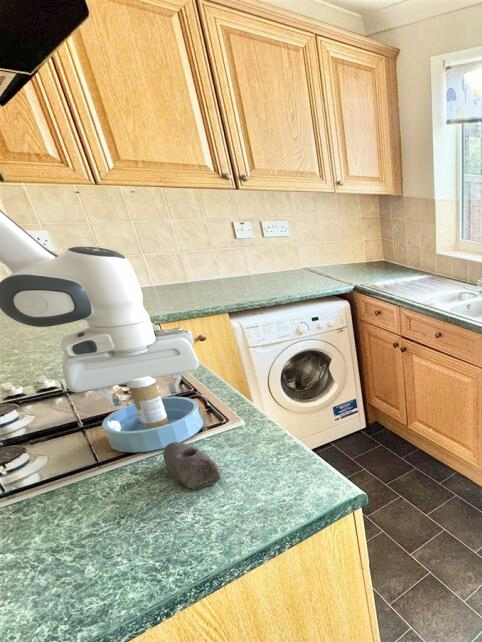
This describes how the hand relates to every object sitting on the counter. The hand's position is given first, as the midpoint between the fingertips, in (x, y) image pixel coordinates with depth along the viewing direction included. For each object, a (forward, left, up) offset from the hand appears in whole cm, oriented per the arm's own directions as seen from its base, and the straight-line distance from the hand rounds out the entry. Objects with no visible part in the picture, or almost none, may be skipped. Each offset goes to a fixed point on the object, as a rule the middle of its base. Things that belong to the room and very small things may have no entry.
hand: (146, 398), depth 86 cm
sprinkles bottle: (0, 0, -8) cm, 8 cm away
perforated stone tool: (+12, -17, -9) cm, 23 cm away
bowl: (0, 0, -9) cm, 9 cm away
